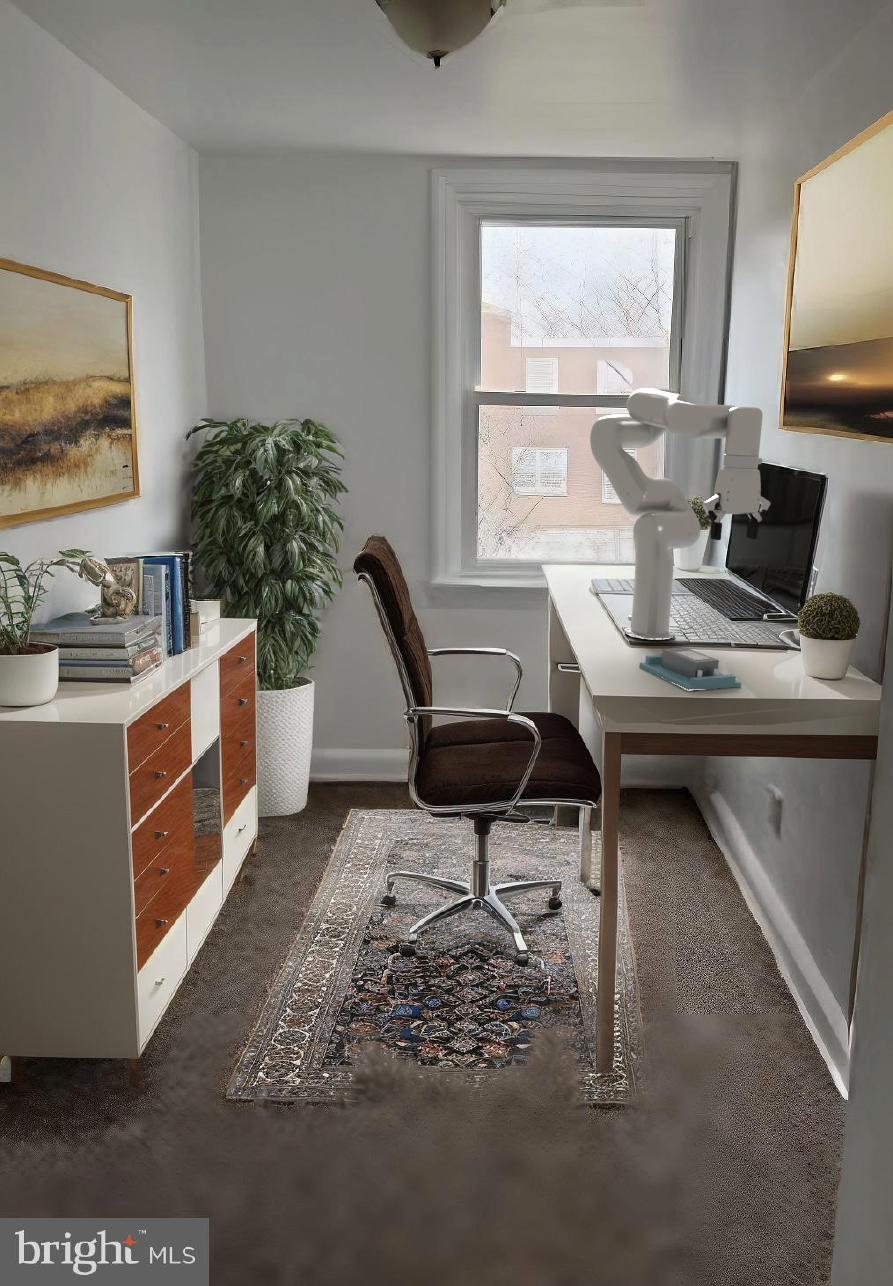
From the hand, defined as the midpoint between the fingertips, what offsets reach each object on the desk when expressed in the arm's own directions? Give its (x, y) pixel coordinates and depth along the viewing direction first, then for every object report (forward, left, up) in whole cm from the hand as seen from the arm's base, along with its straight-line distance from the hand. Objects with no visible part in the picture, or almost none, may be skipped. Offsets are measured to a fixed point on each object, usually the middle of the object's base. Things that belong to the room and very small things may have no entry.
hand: (733, 538), depth 238 cm
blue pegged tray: (+12, -17, -28) cm, 35 cm away
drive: (+12, -17, -27) cm, 34 cm away
